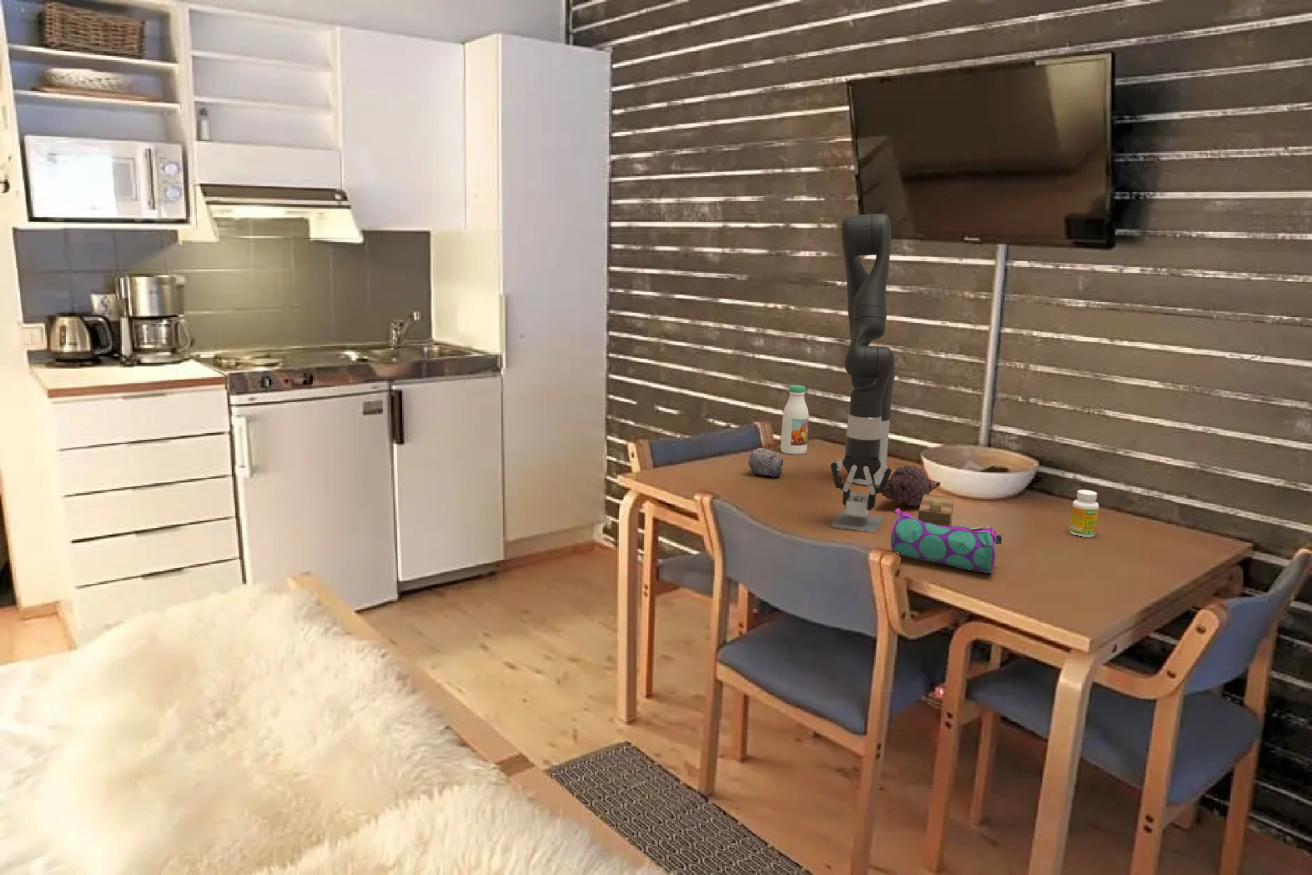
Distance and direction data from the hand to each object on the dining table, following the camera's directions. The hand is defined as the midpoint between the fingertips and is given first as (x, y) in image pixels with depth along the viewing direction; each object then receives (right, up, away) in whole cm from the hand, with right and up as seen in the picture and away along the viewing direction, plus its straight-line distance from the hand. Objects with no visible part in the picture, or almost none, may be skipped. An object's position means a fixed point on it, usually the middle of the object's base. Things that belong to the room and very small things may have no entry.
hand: (858, 507), depth 216 cm
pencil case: (+12, -10, -24) cm, 28 cm away
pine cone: (+15, -1, +15) cm, 21 cm away
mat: (0, -3, +1) cm, 4 cm away
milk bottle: (-5, +11, +68) cm, 69 cm away
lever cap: (0, -1, 0) cm, 1 cm away
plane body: (+15, -6, -7) cm, 18 cm away
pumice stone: (-16, +6, +41) cm, 44 cm away
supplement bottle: (+50, -6, -3) cm, 50 cm away
